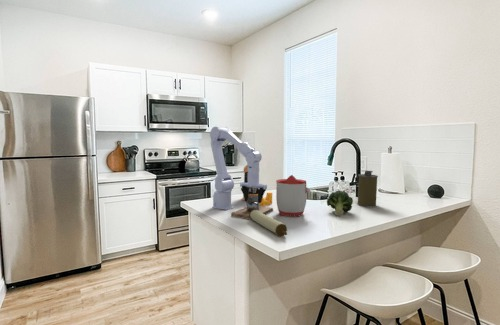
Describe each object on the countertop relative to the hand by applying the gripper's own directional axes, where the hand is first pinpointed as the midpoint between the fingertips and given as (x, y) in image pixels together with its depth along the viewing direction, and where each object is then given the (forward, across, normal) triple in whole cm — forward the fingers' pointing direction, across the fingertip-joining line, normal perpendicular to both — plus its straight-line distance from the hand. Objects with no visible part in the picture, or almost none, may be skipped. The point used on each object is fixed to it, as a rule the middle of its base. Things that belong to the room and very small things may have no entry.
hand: (253, 201), depth 148 cm
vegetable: (+6, +38, +24) cm, 46 cm away
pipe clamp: (+6, -4, +20) cm, 21 cm away
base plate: (+6, 0, 0) cm, 6 cm away
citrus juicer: (+6, +18, +9) cm, 21 cm away
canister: (+6, +47, +51) cm, 70 cm away
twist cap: (+4, 0, 0) cm, 4 cm away
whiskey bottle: (+6, -17, +28) cm, 33 cm away
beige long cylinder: (+6, +16, -17) cm, 25 cm away
